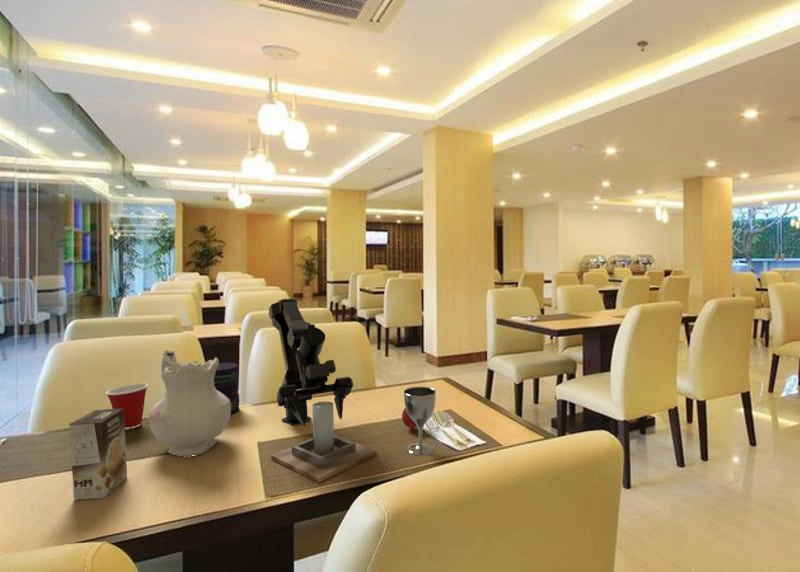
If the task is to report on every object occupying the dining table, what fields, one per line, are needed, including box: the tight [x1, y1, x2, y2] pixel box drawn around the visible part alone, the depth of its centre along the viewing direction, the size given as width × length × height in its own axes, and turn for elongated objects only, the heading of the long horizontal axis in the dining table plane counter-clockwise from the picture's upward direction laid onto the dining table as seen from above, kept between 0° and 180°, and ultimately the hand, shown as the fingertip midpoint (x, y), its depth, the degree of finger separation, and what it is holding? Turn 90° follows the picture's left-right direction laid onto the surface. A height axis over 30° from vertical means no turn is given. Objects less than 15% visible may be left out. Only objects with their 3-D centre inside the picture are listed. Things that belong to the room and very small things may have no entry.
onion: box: [401, 407, 417, 430], centre depth 127 cm, size 6×6×8 cm
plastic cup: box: [105, 383, 149, 427], centre depth 133 cm, size 11×11×12 cm
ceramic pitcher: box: [148, 350, 231, 458], centre depth 117 cm, size 22×20×25 cm
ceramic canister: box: [312, 400, 335, 456], centre depth 110 cm, size 5×5×12 cm
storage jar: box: [214, 362, 240, 416], centre depth 144 cm, size 10×10×15 cm
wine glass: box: [403, 386, 437, 457], centre depth 113 cm, size 8×8×15 cm
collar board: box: [271, 434, 377, 483], centre depth 111 cm, size 18×18×3 cm
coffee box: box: [69, 408, 128, 501], centre depth 97 cm, size 9×6×16 cm
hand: (323, 421), depth 110 cm, fingers open, 9 cm apart
